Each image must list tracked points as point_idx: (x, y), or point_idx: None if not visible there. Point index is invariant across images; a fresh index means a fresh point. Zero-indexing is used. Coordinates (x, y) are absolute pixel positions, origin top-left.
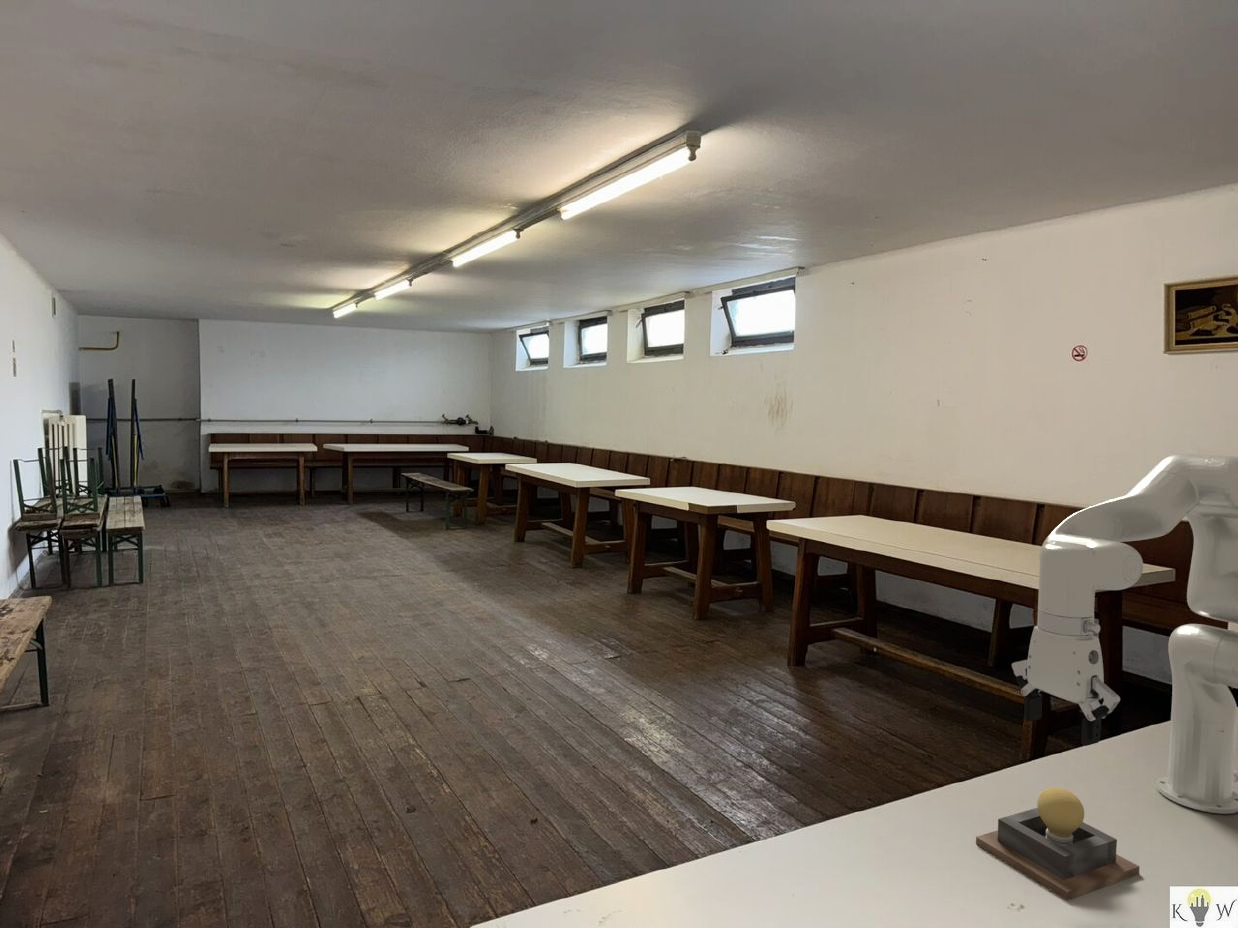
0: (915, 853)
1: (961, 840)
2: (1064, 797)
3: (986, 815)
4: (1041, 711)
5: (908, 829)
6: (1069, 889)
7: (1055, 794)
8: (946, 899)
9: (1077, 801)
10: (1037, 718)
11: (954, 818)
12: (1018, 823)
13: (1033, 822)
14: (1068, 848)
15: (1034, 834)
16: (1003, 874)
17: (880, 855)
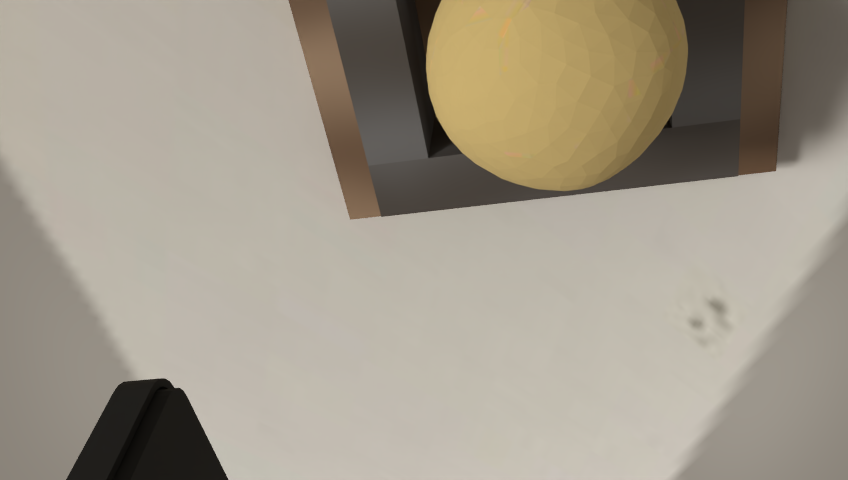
0: (371, 398)
1: (323, 234)
2: (619, 139)
3: (140, 9)
4: (141, 452)
5: (230, 342)
6: (767, 151)
7: (571, 166)
8: (600, 449)
9: (662, 62)
10: (196, 436)
11: (162, 158)
12: (438, 163)
13: (408, 42)
14: (695, 109)
15: None
16: (554, 243)
17: (361, 474)
